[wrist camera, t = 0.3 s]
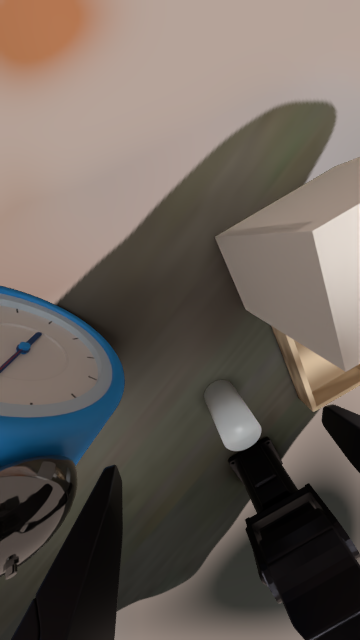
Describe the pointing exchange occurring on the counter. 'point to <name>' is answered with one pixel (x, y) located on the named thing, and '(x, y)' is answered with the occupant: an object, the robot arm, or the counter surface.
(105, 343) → the alarm clock
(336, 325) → the white l-shaped bracket
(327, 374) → the tray
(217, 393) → the grey rounded cylinder
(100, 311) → the counter surface
